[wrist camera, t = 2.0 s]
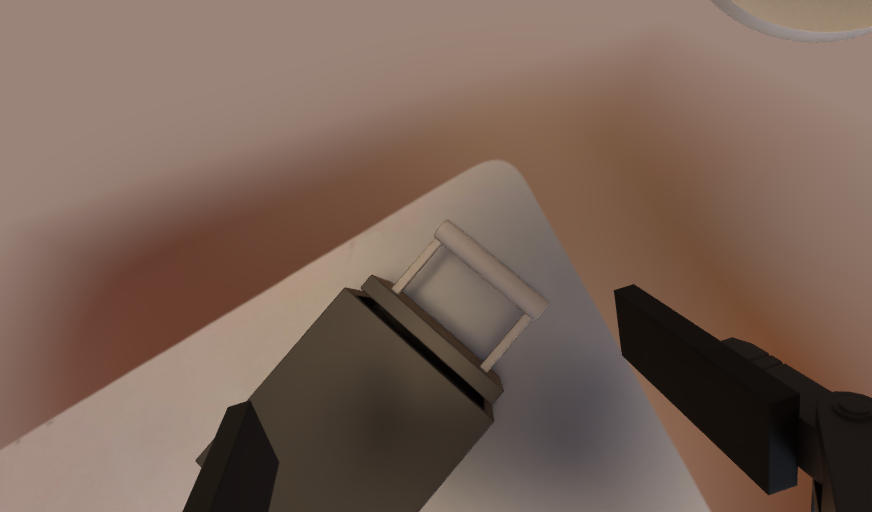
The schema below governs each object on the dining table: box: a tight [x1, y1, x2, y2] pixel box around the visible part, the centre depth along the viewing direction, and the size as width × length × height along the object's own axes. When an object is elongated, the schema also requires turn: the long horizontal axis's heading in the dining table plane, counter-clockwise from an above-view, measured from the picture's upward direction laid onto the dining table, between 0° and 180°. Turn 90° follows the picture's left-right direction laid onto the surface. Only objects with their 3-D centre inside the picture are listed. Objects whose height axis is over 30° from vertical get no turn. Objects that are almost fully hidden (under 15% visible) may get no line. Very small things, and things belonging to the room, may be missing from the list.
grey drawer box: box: [196, 288, 494, 512], centre depth 33 cm, size 15×13×9 cm
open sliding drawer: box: [361, 220, 549, 405], centre depth 33 cm, size 20×11×7 cm, turn 139°
